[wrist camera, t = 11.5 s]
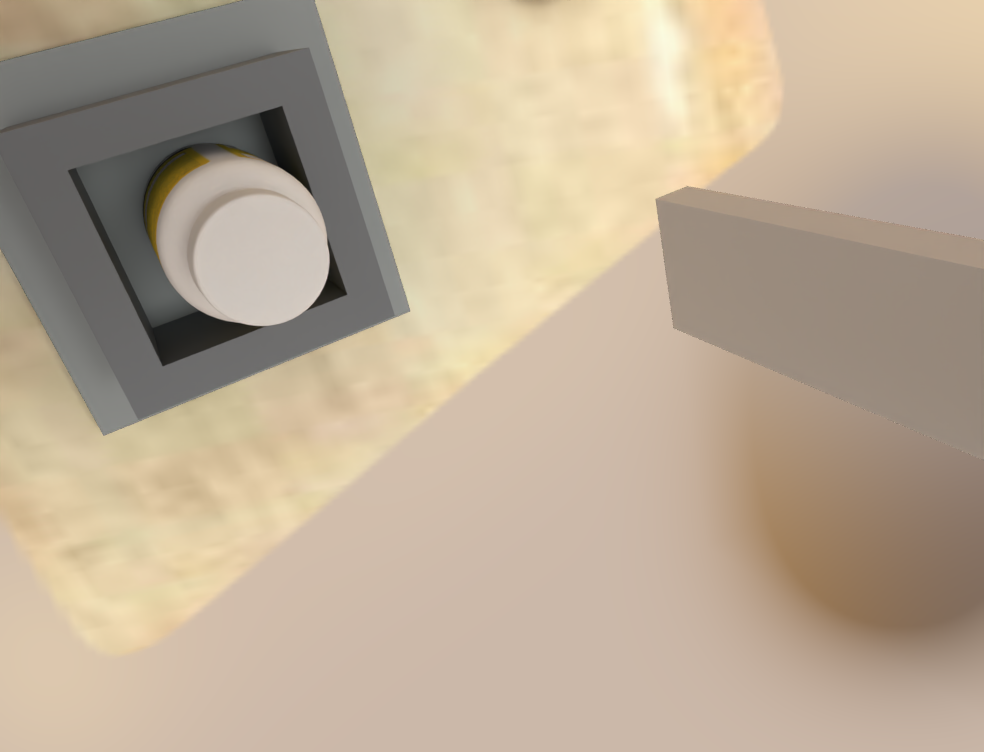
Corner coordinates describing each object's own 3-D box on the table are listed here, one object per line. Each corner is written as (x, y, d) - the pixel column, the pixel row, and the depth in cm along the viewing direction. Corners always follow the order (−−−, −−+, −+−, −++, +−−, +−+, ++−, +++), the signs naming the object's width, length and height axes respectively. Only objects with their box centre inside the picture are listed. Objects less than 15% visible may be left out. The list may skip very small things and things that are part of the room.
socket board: (-82, 84, 27) (-125, 85, 21) (300, -13, 31) (345, -33, 26) (102, 422, 33) (106, 489, 28) (399, 303, 37) (452, 341, 32)
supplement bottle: (157, 289, 31) (183, 365, 23) (127, 148, 29) (143, 176, 21) (293, 268, 33) (361, 330, 25) (273, 136, 31) (341, 156, 23)
